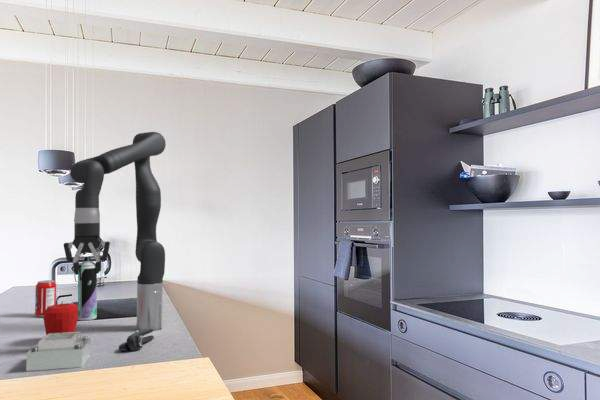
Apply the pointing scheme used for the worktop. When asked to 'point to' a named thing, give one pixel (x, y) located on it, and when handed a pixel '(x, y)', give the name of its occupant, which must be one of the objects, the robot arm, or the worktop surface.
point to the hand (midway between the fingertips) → (87, 273)
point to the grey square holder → (59, 352)
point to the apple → (61, 318)
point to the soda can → (44, 296)
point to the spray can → (87, 290)
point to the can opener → (136, 340)
